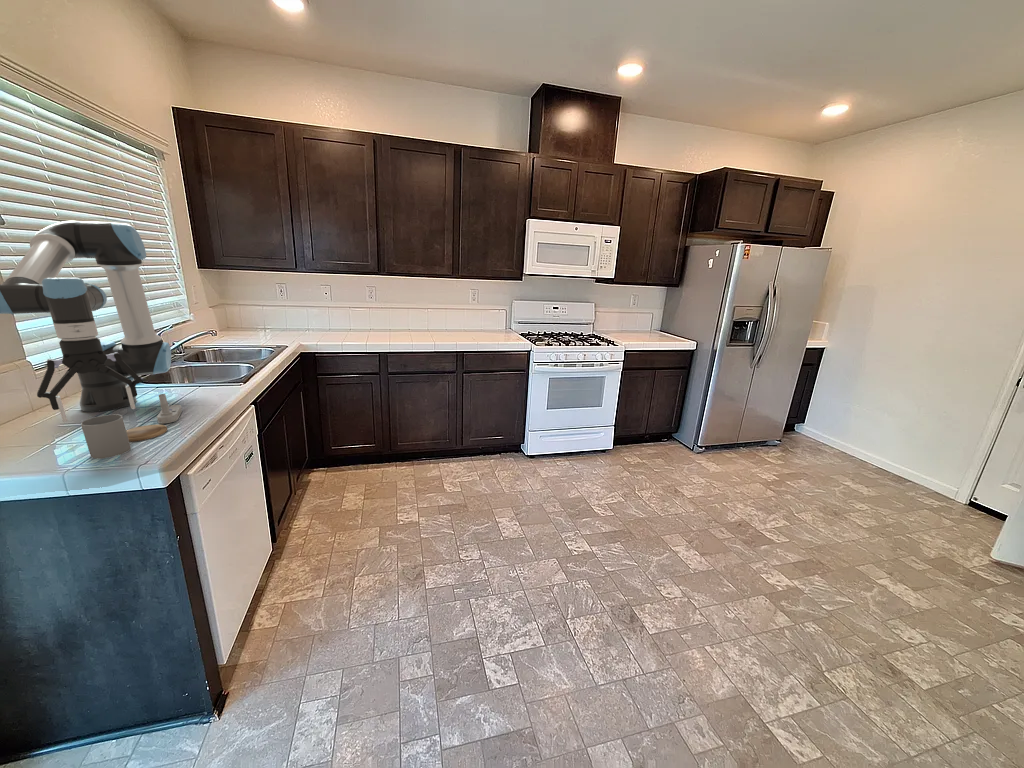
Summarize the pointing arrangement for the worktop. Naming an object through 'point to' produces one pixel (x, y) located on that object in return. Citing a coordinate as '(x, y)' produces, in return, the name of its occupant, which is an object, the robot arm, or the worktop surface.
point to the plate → (145, 432)
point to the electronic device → (168, 411)
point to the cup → (106, 436)
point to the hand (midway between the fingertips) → (100, 413)
